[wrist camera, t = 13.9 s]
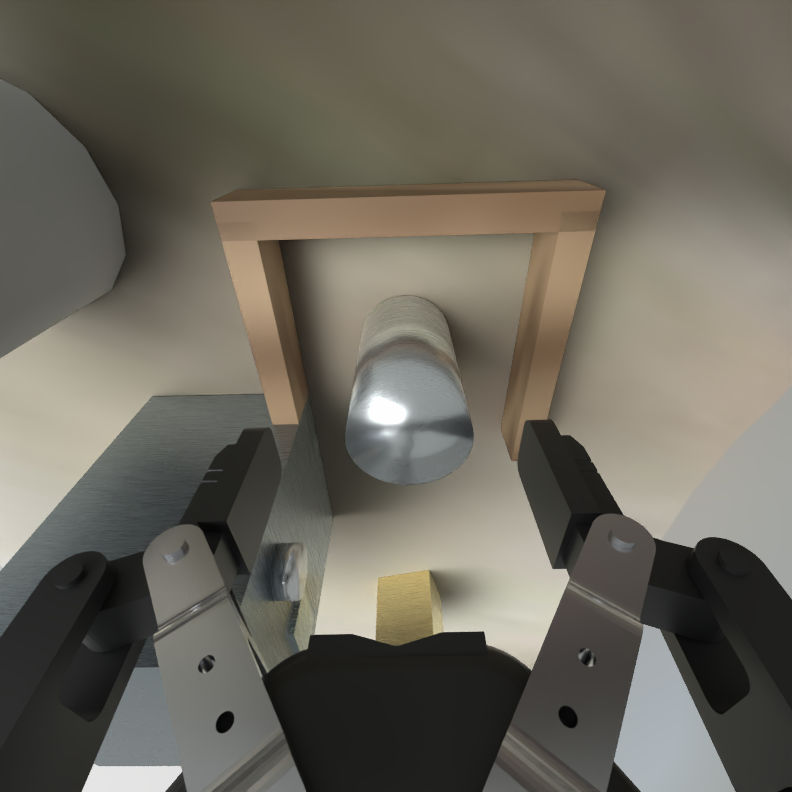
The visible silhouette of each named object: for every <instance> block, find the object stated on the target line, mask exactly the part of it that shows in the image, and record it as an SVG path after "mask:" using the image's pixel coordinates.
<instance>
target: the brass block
mask: <svg viewBox="0 0 792 792" xmlns="http://www.w3.org/2000/svg"><path fill="white" fill-rule="evenodd" d="M441 632H444V631H443V620H442V609H441V598H440V594H439V592H438V590H437V587H436V585H435V583H434V581H433V578H432V576H431V574H430V572H429V570H427V571H421V572H414V573H408V574H401V575H394V576H388V577H381V578H378V596H377V621H376V641H379V642H382V643H386V644H390V645H394V646H399V645H403V644H406V643H409V642H412V641H415V640H419V639H422V638H425V637H428V636H431V635H435V634H438V633H441Z"/></svg>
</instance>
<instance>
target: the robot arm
mask: <svg viewBox="0 0 792 792" xmlns="http://www.w3.org/2000/svg"><path fill="white" fill-rule="evenodd" d="M518 471H519V475H520V478H521V481H522V484H523V487H524V489H525V492H526V495H527V498H528V501H529V503H530V506H531V509H532V512H533V515H534V518H535V520H536V523H537V526H538V529H539V532H540V535H541V537H542V540H543V543H544V546H545V549H546V551H547V554H548V557H549V560H550V563H551V566H552V568H553V569H567V572H568V574H569V577H570V579H569V582H568V584H567V586H566V589H565V591H564V594H563V596H562V598H561V601H560V603H559V606H558V608H557V611H556V613H555V616H554V618H553V620H552V623H551V625H550V628H549V630H548V633H547V635H546V638H545V640H544V642H543V645H542V647H541V650H540V652H539V655H538V657H537V660H536V662H535V664H534V667H533V669H532V671H531V670H530V669H529V668H528V667H527V666H526V665H525V664H523V663H522V662H520V661H519V660H518V659H516V658H515V657H513V656H511V655H510V654H508V653H506V652H504V651H502V650H499V649H497V648H495V647H491V646H488V645H486V640H485V634H484V632H441V633H438V634H435V635H431V636H428V637H425V638H422V639H419V640H415V641H412V642H409V643H406V644H403V645H399V646H394V645H390V644H386V643H382V642H379V641H375V640H372V639H368V638H364V637H361V636H357V635H353V634H338V635H310V638H309V644H308V649H305V650H302V651H300V652H298V653H296V654H294V655H291V656H290V657H288V658H286V659H285V660H283V661H281V662H280V663H279V664H277V665H276V666H275V667H274V668H272V669H271V670H270V671H268V668H267V666H266V664H265V662H264V660H263V658H262V656H261V654H260V651H259V649H258V647H257V645H256V643H255V640H254V638H253V636H252V633H251V631H250V629H249V626H248V624H247V622H246V619H245V617H244V615H243V612H242V610H241V608H240V605H239V603H238V600H237V598H236V596H235V593H234V591H233V589H232V586H233V583H234V580H235V577H236V575H250V574H251V571H252V568H253V565H254V562H255V559H256V556H257V552H258V549H259V546H260V543H261V540H262V537H263V534H264V531H265V528H266V524H267V521H268V518H269V515H270V512H271V509H272V506H273V503H274V499H275V496H276V493H277V490H278V487H279V484H280V480H281V474H282V467H281V461H280V457H279V454H278V450H277V447H276V443H275V440H274V436H273V433H272V430H271V429H270V428H269V427H258V428H244V429H243V431H242V433H241V435H240V437H239V439H238V441H237V443H236V444H230V445H227V446H226V447H225V448H224V449H222V450H221V451H220V452H219V453H218V454H217V455H216V456H215V457H214V459H213V461H212V463H211V465H210V467H209V468H208V472H206V474H205V476H204V478H203V479H202V483H200V485H199V487H198V489H197V491H196V492H195V494H194V496H193V498H192V500H191V502H190V504H189V505H188V507H187V509H186V511H185V513H184V515H183V516H182V518H181V520H180V522H179V524H178V525H177V526H175V527H172V528H170V529H168V530H166V531H164V532H163V533H161V534H160V535H158V536H157V537H156V538H155V539H154V540H153V541H152V542H151V543H150V544H149V546H148V547H147V549H146V550H145V551H142V552H139V553H136V554H132V555H129V556H125V557H122V558H119V559H115V560H112V561H108V560H107V559H106V557H105V556H104V555H103V554H102V553H100V552H97V551H86V552H81V553H78V554H75V555H73V556H71V557H68V558H66V559H65V560H63V561H61V562H60V563H59V564H57V565H56V566H54V567H53V568H52V569H51V570H50V571H49V572H48V573H47V574H46V575H45V576H44V577H43V579H42V580H41V581H40V583H39V584H38V585H37V587H36V588H35V590H34V591H33V592H32V594H31V595H30V597H29V598H28V599H27V601H26V602H25V604H24V605H23V606H22V608H21V609H20V611H19V612H18V613H17V615H16V616H15V618H14V619H13V620H12V622H11V623H10V625H9V626H8V627H7V629H6V630H5V632H4V633H3V634H2V636H1V637H0V792H82V789H83V787H84V785H85V782H86V780H87V777H88V775H89V773H90V771H91V768H92V766H93V764H94V761H95V759H96V757H97V754H98V752H99V750H100V747H101V745H102V743H103V740H104V738H105V736H106V733H107V731H108V729H109V726H110V724H111V721H112V719H113V717H114V714H115V712H116V710H117V707H118V705H119V703H120V700H121V698H122V696H123V693H124V691H125V689H126V686H127V684H128V682H129V679H130V677H131V675H132V672H133V670H134V668H135V665H136V663H137V661H138V658H139V656H140V654H141V651H142V649H143V647H144V644H145V642H146V639H147V638H148V637H151V636H153V641H154V647H155V651H156V656H157V660H158V665H159V669H160V674H161V678H162V683H163V687H164V691H165V696H166V700H167V705H168V709H169V714H170V718H171V723H172V727H173V732H174V736H175V740H176V745H177V749H178V754H179V758H180V763H181V767H182V773H181V774H180V775H179V776H178V777H177V779H176V780H175V781H174V782H173V783H172V785H171V786H170V787H169V788H168V789H167V790H166V792H640V790H639V789H638V788H637V787H636V786H635V785H634V784H633V782H632V781H631V780H630V779H629V778H628V777H627V776H626V775H625V774H624V772H623V771H622V770H621V769H620V768H619V767H618V766H617V765H616V764H615V762H614V757H615V752H616V748H617V744H618V739H619V735H620V730H621V726H622V722H623V717H624V713H625V708H626V704H627V700H628V695H629V691H630V686H631V682H632V678H633V673H634V668H635V665H636V660H637V655H638V652H639V647H640V643H641V638H642V633H643V624H645V625H649V626H652V627H655V628H658V629H660V630H661V632H662V635H663V636H664V639H665V641H666V643H667V645H668V647H669V650H670V651H671V654H672V656H673V658H674V660H675V662H676V665H677V667H678V669H679V671H680V673H681V675H682V677H683V680H684V682H685V684H686V686H687V688H688V690H689V693H690V695H691V696H692V699H693V701H694V703H695V705H696V707H697V710H698V712H699V714H700V716H701V718H702V720H703V723H704V724H705V727H706V729H707V731H708V733H709V735H710V737H711V740H712V742H713V744H714V746H715V748H716V751H717V753H718V755H719V757H720V759H721V761H722V763H723V765H724V768H725V770H726V772H727V774H728V776H729V778H730V781H731V783H732V785H733V787H734V789H735V791H736V792H792V599H791V598H790V597H789V595H788V594H787V593H786V591H785V590H784V589H783V588H782V586H781V585H780V584H779V582H778V581H777V580H776V578H775V577H774V576H773V574H772V573H771V572H770V571H769V569H768V568H767V567H766V565H765V564H764V563H763V562H762V561H761V560H760V559H759V558H758V557H757V556H756V555H755V554H753V553H752V552H751V551H749V550H748V549H746V548H745V547H743V546H741V545H739V544H737V543H735V542H732V541H730V540H727V539H722V538H716V537H709V538H705V539H702V540H700V541H699V542H698V543H697V545H696V546H695V548H690V547H686V546H682V545H678V544H674V543H670V542H665V541H662V540H659V539H655V538H653V537H652V536H651V534H650V533H649V532H648V531H647V530H646V529H645V528H644V527H643V526H642V525H641V524H639V523H638V522H636V521H635V520H633V519H631V518H629V517H626V516H624V515H623V514H622V512H621V510H620V508H619V507H618V505H617V503H616V502H615V500H614V498H613V496H612V495H611V493H610V491H609V490H608V488H607V486H606V484H605V483H604V481H603V479H602V478H601V476H600V474H599V473H597V469H596V467H595V466H594V464H593V462H591V459H590V457H589V455H588V454H587V452H586V450H585V448H584V447H583V446H582V445H581V444H580V443H579V442H577V441H576V440H575V439H574V438H573V437H571V436H570V435H562V436H561V435H560V433H559V431H558V429H557V427H556V425H555V423H554V422H553V421H552V420H551V419H546V420H526V421H525V423H524V427H523V432H522V437H521V442H520V448H519V453H518Z"/></svg>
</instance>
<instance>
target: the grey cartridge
mask: <svg viewBox="0 0 792 792" xmlns="http://www.w3.org/2000/svg"><path fill="white" fill-rule="evenodd" d="M473 436H474V434H473V427H472V423H471V419H470V415H469V410H468V406H467V402H466V398H465V394H464V390H463V385H462V381H461V377H460V373H459V369H458V365H457V360H456V356H455V352H454V348H453V344H452V340H451V335H450V331H449V327H448V324H447V321H446V319H445V317H444V315H443V313H442V312H441V311H440V310H439V309H438V308H437V307H436V306H435V305H434V304H433V303H431V302H429V301H428V300H425V299H423V298H420V297H417V296H411V295H402V296H396V297H392V298H389V299H386V300H384V301H382V302H381V303H379V304H378V305H376V306H375V307H374V308H373V309H372V310H371V311H370V313H369V314H368V316H367V317H366V319H365V321H364V324H363V327H362V333H361V339H360V345H359V351H358V357H357V363H356V370H355V376H354V382H353V388H352V394H351V400H350V406H349V412H348V418H347V424H346V431H345V444H346V449H347V451H348V454H349V456H350V457H351V459H352V460H353V462H354V463H355V464H356V465H357V466H358V467H359V468H360V469H361V470H363V471H364V472H365V473H367V474H368V475H370V476H372V477H374V478H376V479H379V480H381V481H385V482H388V483H393V484H401V485H416V484H423V483H428V482H432V481H435V480H438V479H440V478H442V477H445V476H446V475H448V474H450V473H452V472H453V471H454V470H456V469H457V468H458V467H459V466H460V465H461V464H462V463H463V462H464V461H465V459H466V458H467V456H468V455H469V453H470V451H471V448H472V445H473Z"/></svg>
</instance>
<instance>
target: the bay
mask: <svg viewBox="0 0 792 792" xmlns="http://www.w3.org/2000/svg"><path fill="white" fill-rule="evenodd" d="M605 192H606V190H604V189H602V188H599V187H596V186H594V185H591V184H588V183H585V182H583V181H580V180H544V181H511V182H479V183H446V184H413V185H381V186H348V187H315V188H283V189H250V190H235V191H233V192H231V193H228V194H226V195H224V196H222V197H220V198H218V199H216V200H214V201H212V202H211V206H212V209H213V213H214V216H215V220H216V223H217V227H218V231H219V234H220V238H221V241H222V245H223V249H224V252H225V256H226V259H227V263H228V266H229V270H230V274H231V277H232V281H233V284H234V288H235V292H236V295H237V299H238V302H239V306H240V310H241V313H242V317H243V320H244V324H245V327H246V331H247V335H248V338H249V342H250V345H251V349H252V353H253V356H254V360H255V363H256V367H257V370H258V374H259V378H260V381H261V385H262V388H263V392H264V396H265V399H266V403H267V406H268V410H269V413H270V417H271V421H272V424H273V425H276V424H299V422H300V419H301V416H302V412H303V409H304V406H305V403H306V400H307V397H308V394H309V393H308V388H307V383H306V378H305V373H304V367H303V362H302V357H301V352H300V347H299V342H298V337H297V332H296V327H295V322H294V316H293V311H292V306H291V301H290V296H289V291H288V286H287V281H286V276H285V271H284V265H283V260H282V255H281V250H280V245H279V240H292V239H328V238H363V237H399V236H435V235H470V234H506V233H535V234H534V240H533V245H532V251H531V257H530V263H529V269H528V275H527V280H526V286H525V292H524V298H523V304H522V309H521V315H520V321H519V327H518V333H517V339H516V344H515V350H514V356H513V362H512V368H511V373H510V379H509V385H508V391H507V397H506V402H505V408H504V414H503V420H502V426H501V430H502V433H503V437H504V440H505V443H506V446H507V449H508V452H509V455H510V458H511V461H518V453H519V448H520V442H521V437H522V432H523V427H524V423H525V421H526V420H546V419H547V417H548V413H549V409H550V405H551V401H552V397H553V394H554V390H555V386H556V382H557V378H558V374H559V370H560V366H561V363H562V359H563V355H564V351H565V347H566V343H567V339H568V335H569V332H570V328H571V324H572V320H573V316H574V312H575V308H576V304H577V301H578V297H579V293H580V289H581V285H582V281H583V277H584V273H585V270H586V266H587V262H588V258H589V254H590V250H591V246H592V243H593V239H594V235H595V231H596V227H597V223H598V219H599V215H600V212H601V208H602V204H603V200H604V196H605Z"/></svg>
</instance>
